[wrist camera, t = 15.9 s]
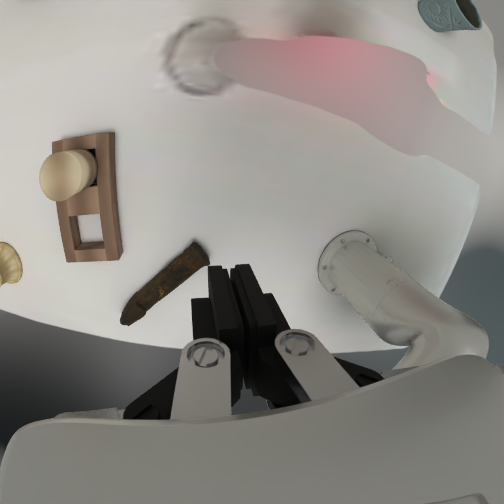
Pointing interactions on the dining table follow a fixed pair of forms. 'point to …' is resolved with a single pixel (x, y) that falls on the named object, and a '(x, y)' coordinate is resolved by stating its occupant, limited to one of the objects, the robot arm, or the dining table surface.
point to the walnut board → (92, 203)
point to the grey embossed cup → (450, 15)
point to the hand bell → (9, 264)
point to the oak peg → (67, 173)
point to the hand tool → (164, 283)
